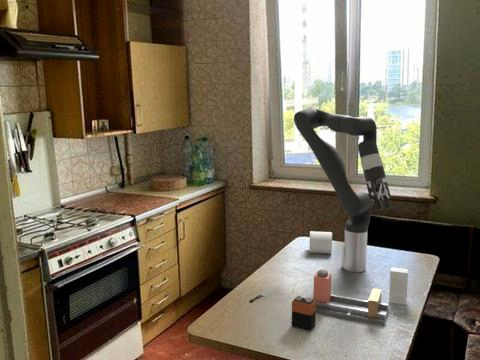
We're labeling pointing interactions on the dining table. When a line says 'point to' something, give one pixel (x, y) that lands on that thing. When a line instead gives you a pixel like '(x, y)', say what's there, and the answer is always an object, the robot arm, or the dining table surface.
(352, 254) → the robot arm
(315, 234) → the toilet paper
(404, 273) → the skincare box
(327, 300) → the pink dome-topped pillar
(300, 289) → the dining table surface
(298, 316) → the battery
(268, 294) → the chef's knife
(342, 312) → the rail
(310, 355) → the dining table surface
